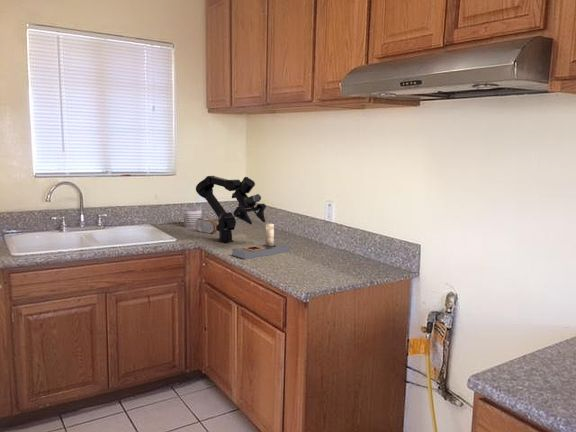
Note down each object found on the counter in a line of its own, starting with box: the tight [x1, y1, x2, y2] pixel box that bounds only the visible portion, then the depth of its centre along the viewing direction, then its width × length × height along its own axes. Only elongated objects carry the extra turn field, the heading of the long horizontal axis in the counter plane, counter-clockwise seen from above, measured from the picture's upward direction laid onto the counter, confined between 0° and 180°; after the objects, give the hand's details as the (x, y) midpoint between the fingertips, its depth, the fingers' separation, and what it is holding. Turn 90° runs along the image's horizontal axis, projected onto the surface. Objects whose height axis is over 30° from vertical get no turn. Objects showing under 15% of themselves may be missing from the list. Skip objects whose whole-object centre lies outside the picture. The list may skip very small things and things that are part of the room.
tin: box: [195, 217, 218, 235], centre depth 286 cm, size 15×3×8 cm, turn 58°
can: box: [182, 205, 203, 229], centre depth 305 cm, size 11×11×12 cm
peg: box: [265, 223, 275, 248], centre depth 241 cm, size 4×4×14 cm
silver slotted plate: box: [231, 241, 291, 260], centre depth 238 cm, size 28×10×3 cm, turn 132°
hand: (258, 223), depth 245 cm, fingers open, 9 cm apart
